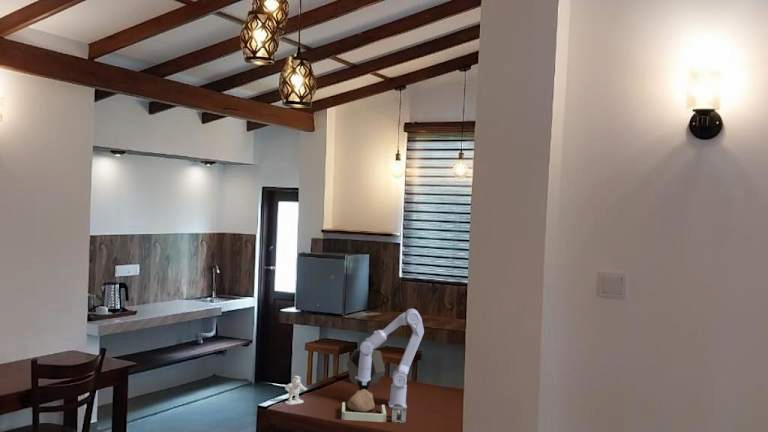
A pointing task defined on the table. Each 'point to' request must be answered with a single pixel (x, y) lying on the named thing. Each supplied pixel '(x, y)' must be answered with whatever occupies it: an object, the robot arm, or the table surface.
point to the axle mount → (403, 414)
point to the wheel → (398, 410)
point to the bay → (364, 415)
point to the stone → (361, 401)
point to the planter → (376, 366)
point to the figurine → (294, 391)
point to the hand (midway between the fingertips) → (362, 397)
